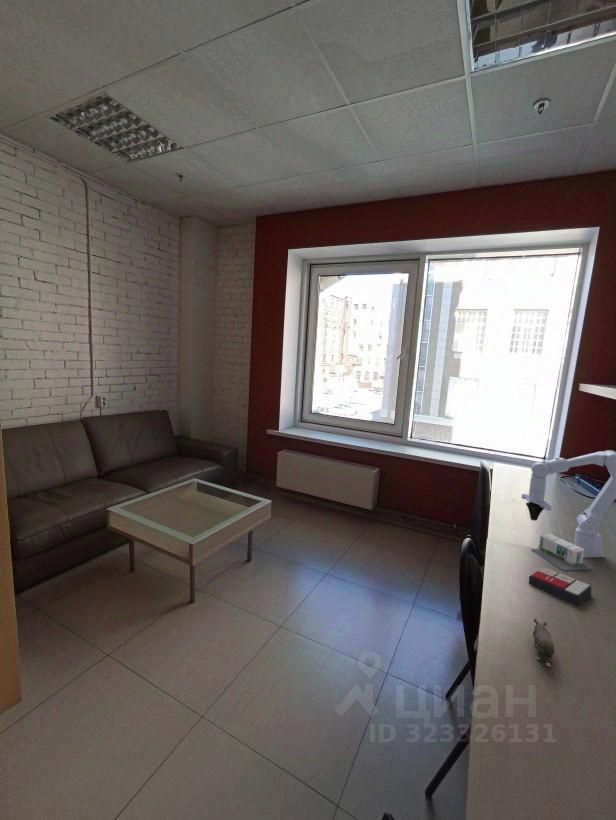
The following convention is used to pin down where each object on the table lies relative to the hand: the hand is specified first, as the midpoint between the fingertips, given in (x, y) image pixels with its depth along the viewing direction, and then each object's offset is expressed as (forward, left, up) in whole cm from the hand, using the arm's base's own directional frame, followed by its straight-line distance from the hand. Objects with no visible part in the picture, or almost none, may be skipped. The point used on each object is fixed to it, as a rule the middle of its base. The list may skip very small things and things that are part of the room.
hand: (533, 519), depth 159 cm
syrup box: (-1, +6, -7) cm, 9 cm away
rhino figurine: (+45, +57, -10) cm, 73 cm away
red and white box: (+17, +34, -11) cm, 39 cm away
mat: (0, +15, -10) cm, 18 cm away
